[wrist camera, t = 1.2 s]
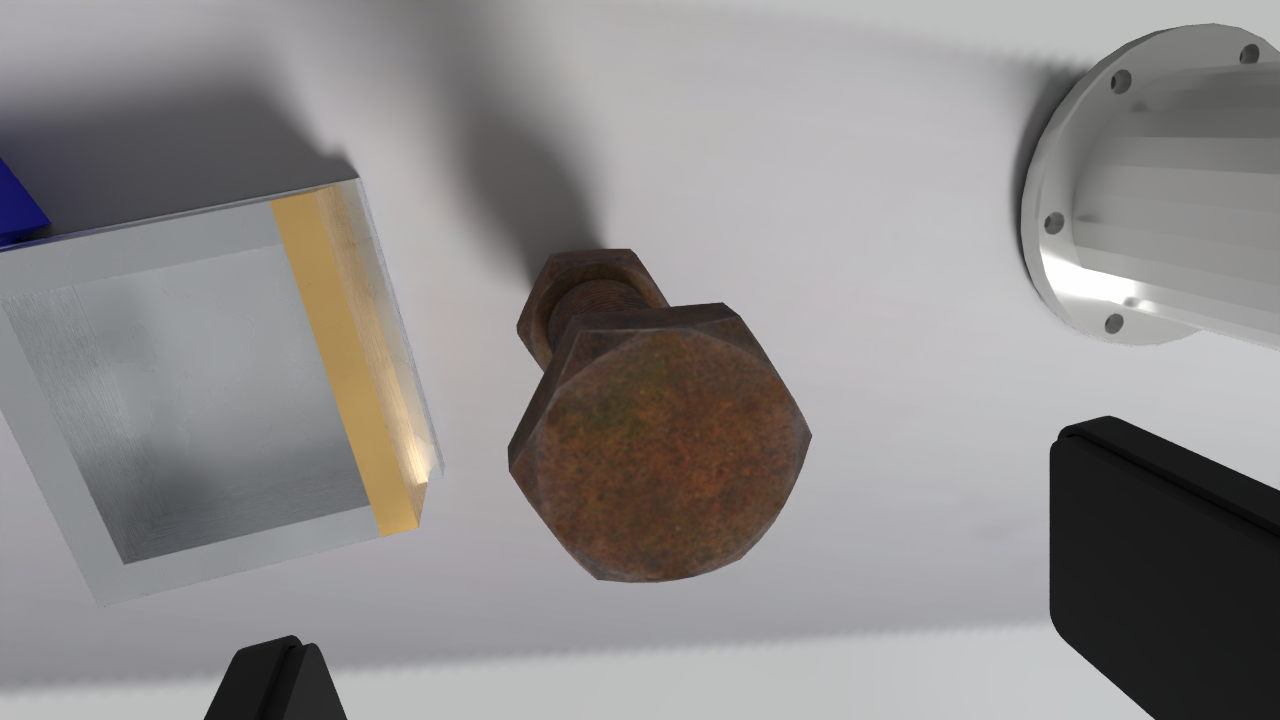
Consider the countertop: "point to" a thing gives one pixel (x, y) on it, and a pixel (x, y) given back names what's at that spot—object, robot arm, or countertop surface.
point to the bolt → (649, 424)
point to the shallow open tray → (214, 388)
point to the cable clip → (17, 209)
